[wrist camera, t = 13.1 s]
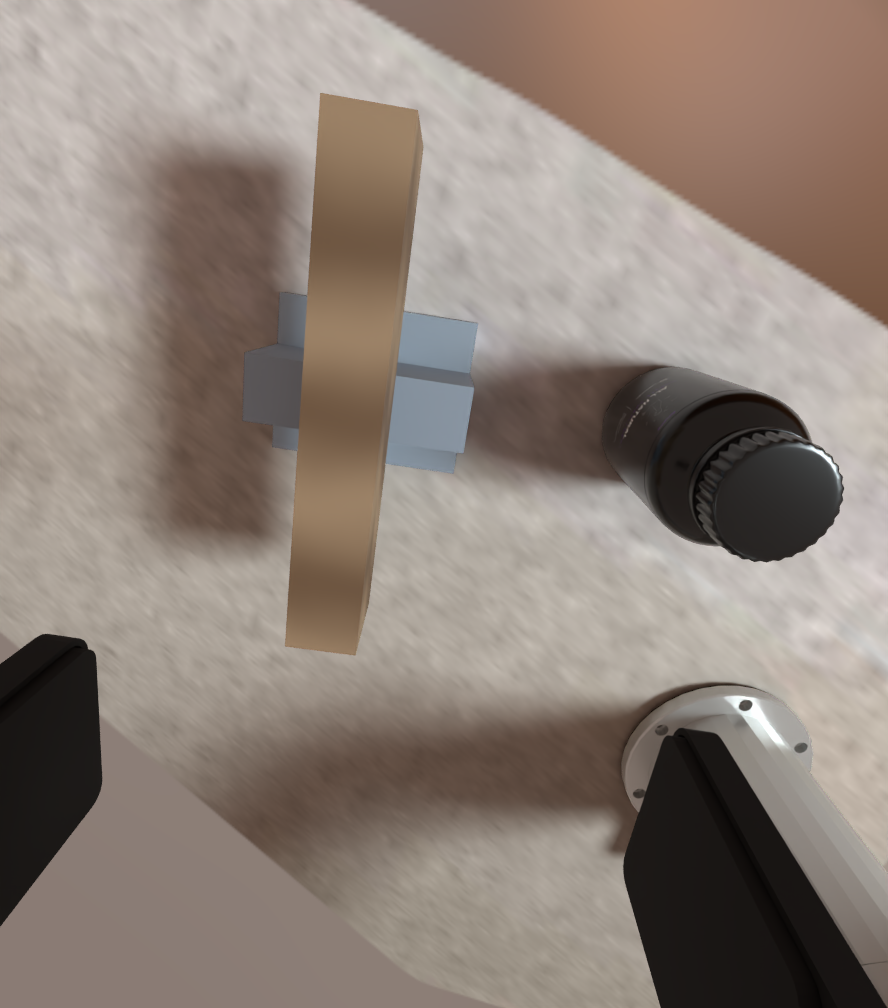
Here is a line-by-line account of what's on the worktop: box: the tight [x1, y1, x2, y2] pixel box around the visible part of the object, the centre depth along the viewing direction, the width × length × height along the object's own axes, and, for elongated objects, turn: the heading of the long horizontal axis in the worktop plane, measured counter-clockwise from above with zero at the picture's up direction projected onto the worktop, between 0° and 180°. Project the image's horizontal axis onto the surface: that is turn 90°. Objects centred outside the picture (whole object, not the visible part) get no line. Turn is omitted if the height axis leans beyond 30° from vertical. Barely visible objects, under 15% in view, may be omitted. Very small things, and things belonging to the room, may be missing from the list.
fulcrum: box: [243, 292, 478, 473], centre depth 28 cm, size 8×10×6 cm
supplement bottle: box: [602, 367, 844, 562], centre depth 26 cm, size 7×7×12 cm
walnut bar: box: [285, 93, 423, 655], centre depth 23 cm, size 20×3×4 cm, turn 171°
